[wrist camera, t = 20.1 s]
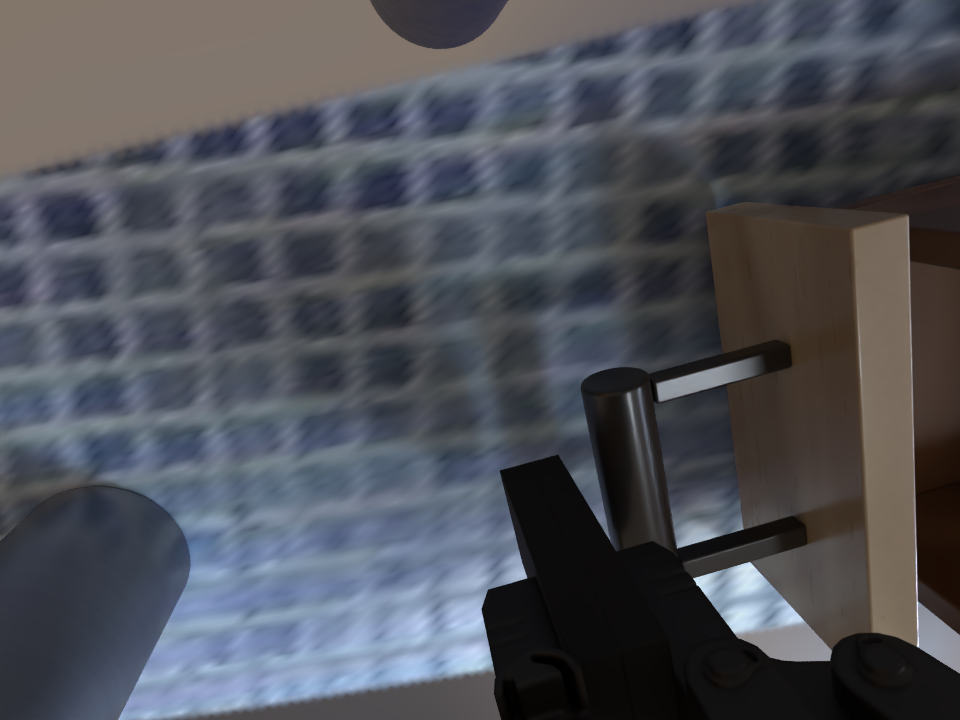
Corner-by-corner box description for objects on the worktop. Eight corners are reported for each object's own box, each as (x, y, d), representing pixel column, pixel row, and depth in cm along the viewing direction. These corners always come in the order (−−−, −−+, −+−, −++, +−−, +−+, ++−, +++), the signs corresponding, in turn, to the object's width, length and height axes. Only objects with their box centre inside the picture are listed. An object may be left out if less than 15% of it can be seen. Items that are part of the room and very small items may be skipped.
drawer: (600, 601, 20) (677, 759, 15) (528, 257, 17) (593, 295, 11) (1120, 450, 22) (1371, 544, 16) (1150, 97, 18) (1484, 62, 13)
